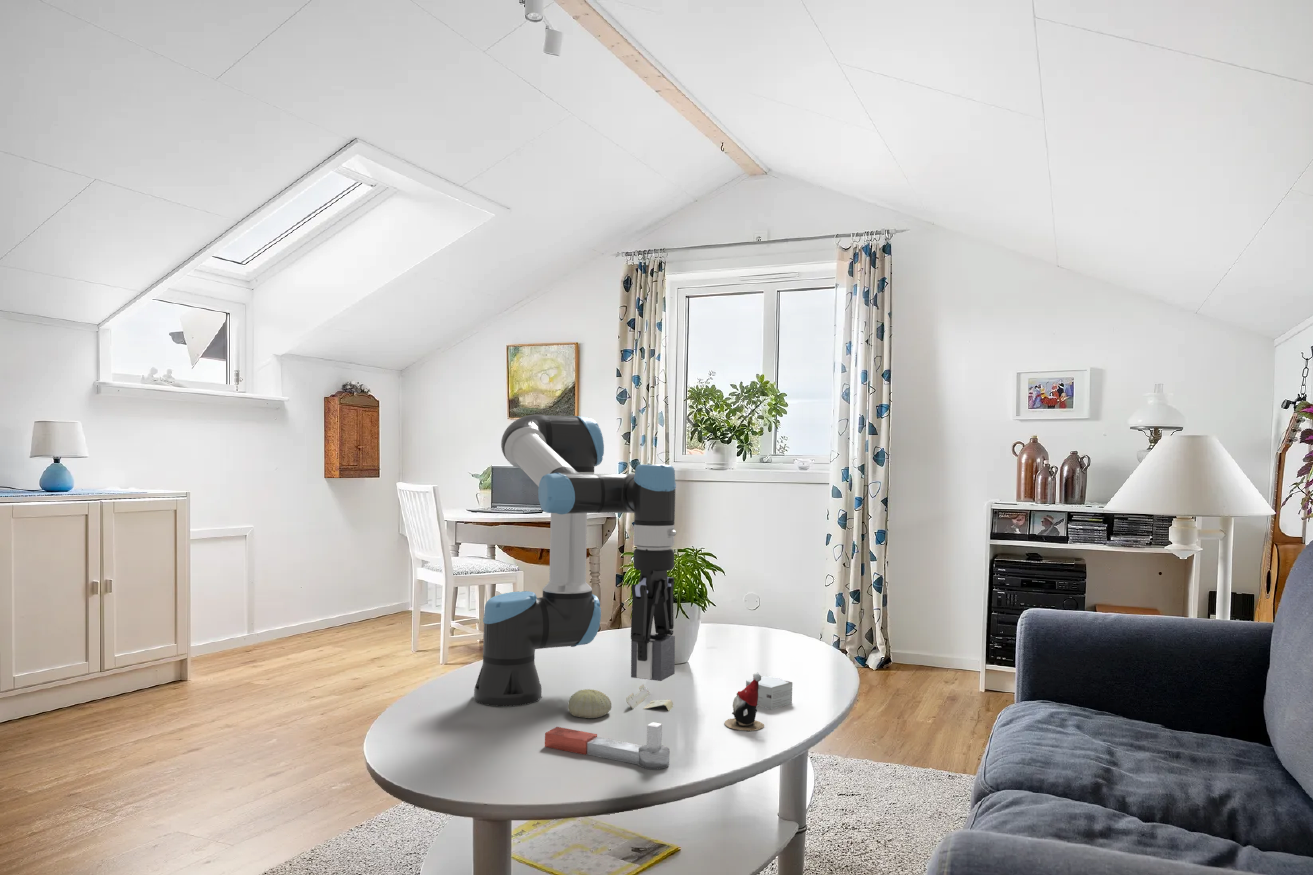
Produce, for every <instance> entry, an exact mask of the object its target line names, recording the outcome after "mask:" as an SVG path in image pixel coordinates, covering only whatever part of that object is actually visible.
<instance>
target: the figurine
mask: <svg viewBox="0 0 1313 875" xmlns="http://www.w3.org/2000/svg"><path fill="white" fill-rule="evenodd" d="M761 676H762V675H761V674H760V673H759V672H755V673H753V674H752V677H753V678H752V679H753V681H752V682H751V683H750V684H749V685H748V686H747V687H746V686H745V687H744V688H743V689H742V690H739V691H737V692H736V696H735V697H734V699H733V701H732V713H731V715H732V716H733V717H734V718H728V719H727V720H725V721H724V726H725V727H727V728H729V729H732V730H734V731H745V732H751V731H758V730H762V729H764V728H765V724H764V723H763V722H761V721H758V720H756V716H757V712H758V710H757V708H758V705H757V702H758V687H759V684H758V682H759V681H760V680H761Z"/></svg>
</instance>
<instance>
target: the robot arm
mask: <svg viewBox="0 0 1313 875" xmlns="http://www.w3.org/2000/svg"><path fill="white" fill-rule="evenodd" d="M604 442H605V441H604V436H603V433H602V430H601V428H600V426H599V424H598V423H597V421H596V420H595V419H593V418H591V417H587V416H581V415H580V416H578V415H549V414H548V415H547V414H546V415H544V414H530V415H529V414H528V415H524V416H522V417H519V418H518V419H515V420H514V421H513V422H511V423H510V424H509V425H508V426H507V428H506V429H505V430H504V432H503V435H502V437H501V442H500V446H501V453H502V454H503V456H504V458H505V459H506V460H507V462H508V463H509V464H510V465H512V466H513V467H515V468H517V469H521V470H522V471H523V472H524V473H525V474H526V475H527V476H528V477H529V478H530V479H531V480H532V481H533V483H534V484H535V485H536V486H537V488H538V490H537V493H538V494H537V495H538V496H537V497H538V498H537V499H538V502H539V504H540V505H539V506H540V508H541V510H542V511H543V512H545V513H547V514H550V526H549V527H550V536H549V537H550V538H549V539H550V540H549V581H548V582H547V584H545V586H543V588H542V597H538V596H537V595H536V593H535V592H534V591H529V590H528V591H527V590H524V591H512V592H505V593H502V594H498V595H494V596H492V597H491V598H489V599H488V600H487V601H486V603H485V604H484V611H483V612H484V613H483V618H482V623H483V640H482V641H483V642H482V644H483V647H482V666H481V668H480V670H479V675H478V677H477V679H476V682H475V683H476V684H475V685H474V689H473V691H474V693H473V699H474V701H475V702H476V703H479V704H481V705H486V706H490V707H504V708H506V707H518V706H525V705H529V704H533V703H536V702H537V701H539V700H540V699H541V698H542V684H541V682H540V677H539V675H538V670H537V667H536V662H535V658H536V656H535V655H536V652H535V651H536V650H541V649H549V648H551V649H552V648H553V649H554V648H565V647H570V648H575V647H577V646H582V645H583V646H585V645H588V644H590V643H591V642H593V641H594V639H595V638H596V637H597V636H598V633H599V632H598V631H599V629H600V625H601V617H602V610H601V609H602V608H601V602H600V600H599V598H598V596H597V595H595V594H593V588H592V587H591V585H589V583H588V582H587V545H588V544H587V542H588V540H587V538H588V535H587V534H588V514H634V515H633V517H634V518H633V519H634V520H633V545H634V546H635V547H636V548H634V550H633V568H634V569H635V570H639V572H640V576H639V580H638V584H634V583H633V584H631V587H630V588H631V589H630V590H631V598H632V600H631V601H632V602H631V622H630V624H631V625H630V640H632V641H634V642H637V678H636V679H640V678H642V679H641V680H648V679H649V681H651V680H650V679H652V642H650V636H651V634H652V628H653V622H654V628H655V630H654V631H655V634H662V635H672V636H674V627H675V625H674V624H675V622H674V621H675V620H674V586H675V578H674V576H673V577H672V576H671V577H670V576H668V572H667V571H671V570H673V569H674V568H675V550H674V549H672V547H674V545H675V536H676V535H677V531H676V530H675V518H676V517H675V516H676V488H677V483H676V472H675V471H676V470H675V467H674V466H672V465H670V464H646V463H644V464H642V463H641V464H638V465H636V467H635V471H634V473H621V474H620V473H619V474H618V473H615V474H614V473H595V467H598V466H599V465H600V464H602V461H603V460H604V458H603V457H604V455H605V444H604Z"/></svg>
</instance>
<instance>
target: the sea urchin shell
mask: <svg viewBox="0 0 1313 875" xmlns="http://www.w3.org/2000/svg"><path fill="white" fill-rule="evenodd" d="M567 704H568V705H567V709H568V711H569V713H570V714H571V716H573V717H576V718H584V719H598V718H601V717H604V716H606V715H608V713H610V711H611V710H612V701H611V699H610V698H609V696H608V695H606V694H605V693H604V692H602V691H600V690H597V689H590V688H589V689H588V688H587V689H580V690H578V691H576V692H574V693H573V694H572V695H571V697H569V700H568V703H567Z"/></svg>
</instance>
